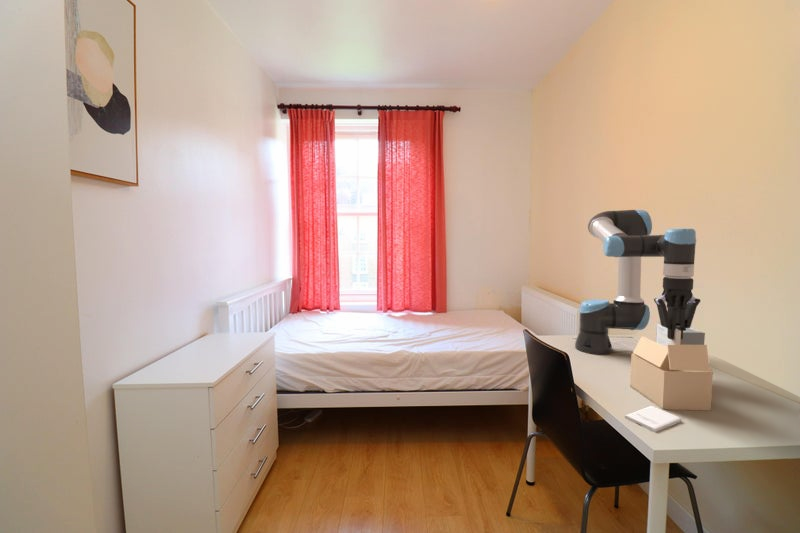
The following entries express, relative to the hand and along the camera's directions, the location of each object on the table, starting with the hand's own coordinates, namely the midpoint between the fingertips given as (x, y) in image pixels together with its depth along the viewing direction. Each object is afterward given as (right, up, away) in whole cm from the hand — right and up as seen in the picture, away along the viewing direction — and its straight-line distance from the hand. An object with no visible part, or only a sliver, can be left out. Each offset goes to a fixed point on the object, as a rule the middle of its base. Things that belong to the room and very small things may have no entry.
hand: (674, 348), depth 109 cm
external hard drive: (-16, -19, -11) cm, 27 cm away
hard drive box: (+13, -15, +15) cm, 25 cm away
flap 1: (-7, -1, +1) cm, 7 cm away
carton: (-1, -16, +1) cm, 16 cm away
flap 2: (-2, -1, -7) cm, 8 cm away
